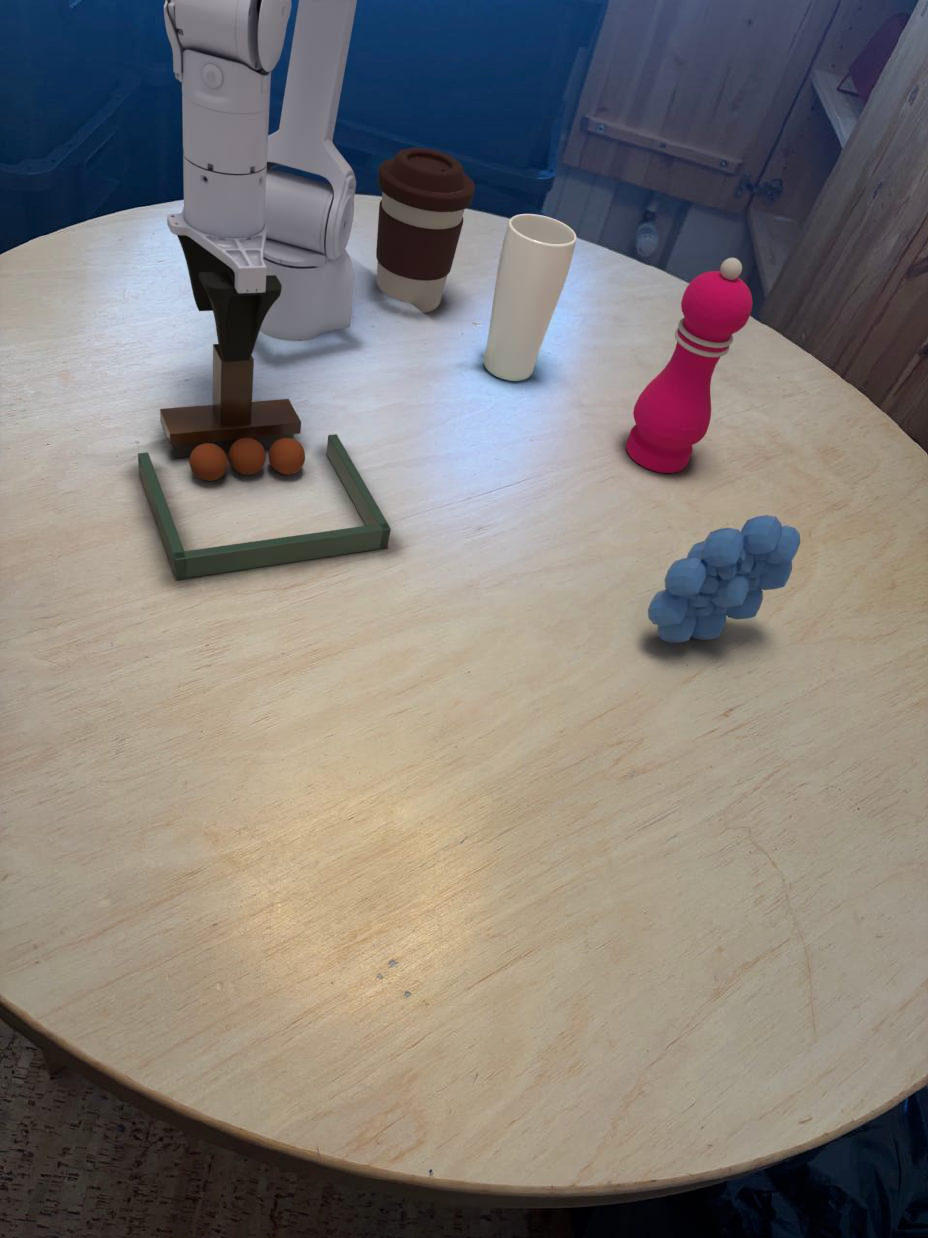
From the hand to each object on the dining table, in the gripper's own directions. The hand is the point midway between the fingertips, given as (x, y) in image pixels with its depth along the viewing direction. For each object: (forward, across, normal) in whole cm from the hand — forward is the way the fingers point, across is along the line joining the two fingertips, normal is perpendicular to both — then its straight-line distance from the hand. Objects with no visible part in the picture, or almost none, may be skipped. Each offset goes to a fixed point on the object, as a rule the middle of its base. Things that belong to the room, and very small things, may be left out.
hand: (222, 333), depth 76 cm
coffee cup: (+10, -21, +26) cm, 35 cm away
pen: (+9, +11, 0) cm, 14 cm away
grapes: (+9, +32, +29) cm, 44 cm away
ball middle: (+8, +6, 0) cm, 10 cm away
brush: (+9, +2, 0) cm, 9 cm away
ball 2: (+8, +7, +4) cm, 11 cm away
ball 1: (+8, +6, -3) cm, 10 cm away
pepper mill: (+10, +11, +40) cm, 42 cm away
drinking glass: (+10, -6, +32) cm, 33 cm away
